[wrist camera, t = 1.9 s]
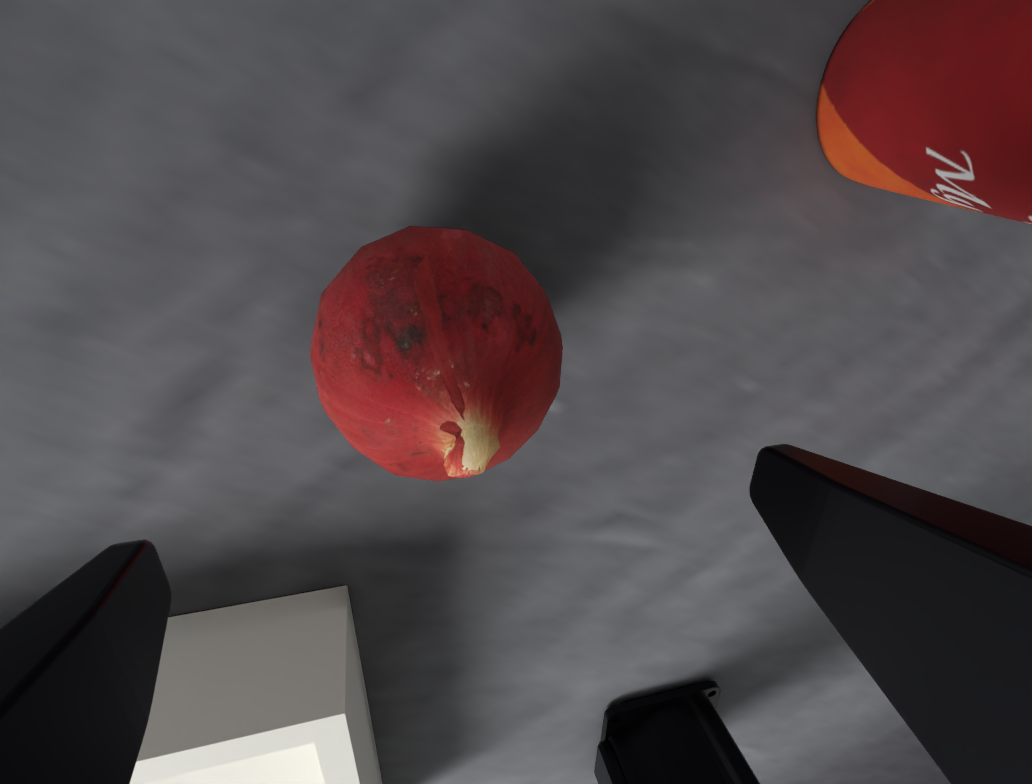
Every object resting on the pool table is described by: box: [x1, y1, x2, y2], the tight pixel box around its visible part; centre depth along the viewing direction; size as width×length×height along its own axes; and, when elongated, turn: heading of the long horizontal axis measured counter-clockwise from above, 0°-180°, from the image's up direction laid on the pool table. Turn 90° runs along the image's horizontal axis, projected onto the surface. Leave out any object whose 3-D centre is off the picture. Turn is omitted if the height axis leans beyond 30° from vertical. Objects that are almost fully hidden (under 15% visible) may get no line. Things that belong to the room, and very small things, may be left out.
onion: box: [310, 226, 563, 481], centre depth 13 cm, size 6×6×8 cm
